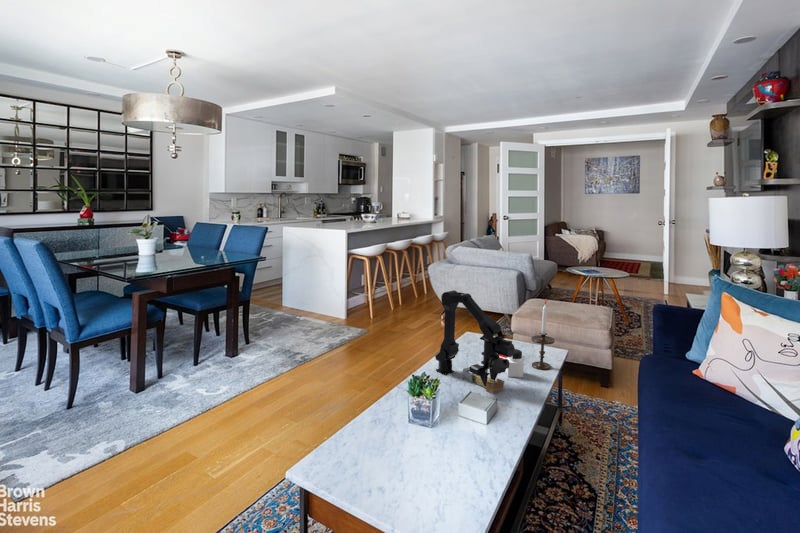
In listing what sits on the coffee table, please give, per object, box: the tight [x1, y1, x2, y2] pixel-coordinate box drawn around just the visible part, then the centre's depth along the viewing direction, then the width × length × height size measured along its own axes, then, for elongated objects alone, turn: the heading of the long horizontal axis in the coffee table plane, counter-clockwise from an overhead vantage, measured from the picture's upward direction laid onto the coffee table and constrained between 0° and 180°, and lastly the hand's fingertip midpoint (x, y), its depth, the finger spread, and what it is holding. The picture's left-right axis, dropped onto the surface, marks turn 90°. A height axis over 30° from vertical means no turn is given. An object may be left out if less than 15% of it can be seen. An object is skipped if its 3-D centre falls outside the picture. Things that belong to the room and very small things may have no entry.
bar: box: [473, 374, 497, 389], centre depth 195 cm, size 13×4×3 cm, turn 33°
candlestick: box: [531, 298, 556, 371], centre depth 215 cm, size 11×11×35 cm
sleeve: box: [462, 366, 474, 384], centre depth 201 cm, size 6×7×5 cm
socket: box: [485, 378, 505, 395], centre depth 189 cm, size 4×7×4 cm, turn 123°
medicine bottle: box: [505, 348, 525, 378], centre depth 207 cm, size 7×7×12 cm
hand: (488, 384), depth 193 cm, fingers closed on bar, 4 cm apart
